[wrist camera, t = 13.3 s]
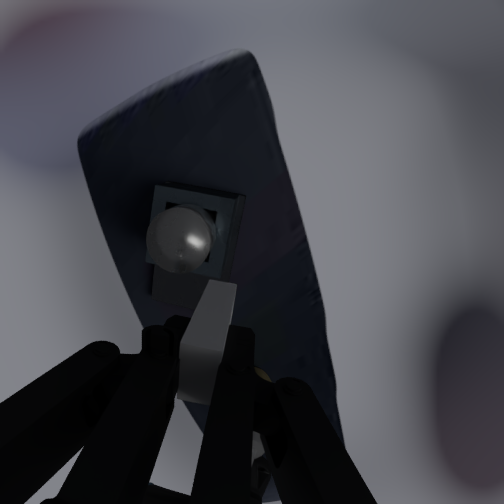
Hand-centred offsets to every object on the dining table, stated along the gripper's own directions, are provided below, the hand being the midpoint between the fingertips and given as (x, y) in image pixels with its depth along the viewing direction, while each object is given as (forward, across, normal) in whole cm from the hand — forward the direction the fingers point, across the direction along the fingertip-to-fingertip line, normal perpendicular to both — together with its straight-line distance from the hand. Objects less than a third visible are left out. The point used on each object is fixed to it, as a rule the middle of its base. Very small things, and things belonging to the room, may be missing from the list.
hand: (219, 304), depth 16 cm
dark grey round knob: (+21, +5, 0) cm, 22 cm away
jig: (+23, +6, +4) cm, 23 cm away
